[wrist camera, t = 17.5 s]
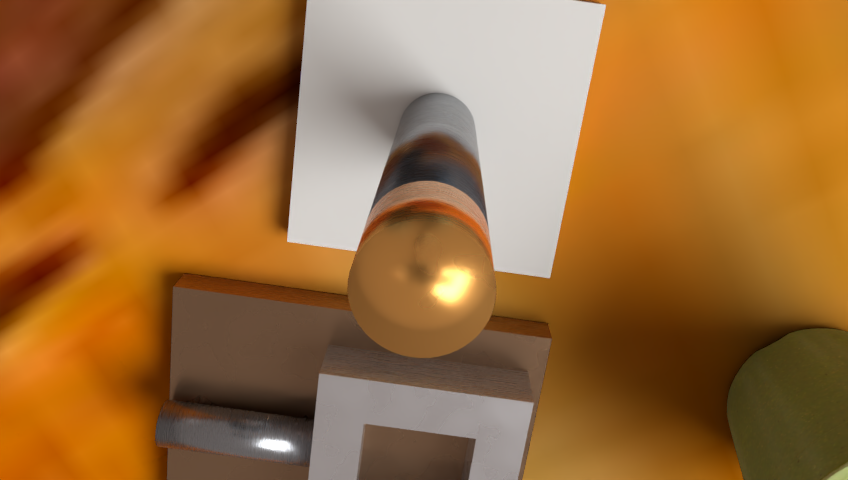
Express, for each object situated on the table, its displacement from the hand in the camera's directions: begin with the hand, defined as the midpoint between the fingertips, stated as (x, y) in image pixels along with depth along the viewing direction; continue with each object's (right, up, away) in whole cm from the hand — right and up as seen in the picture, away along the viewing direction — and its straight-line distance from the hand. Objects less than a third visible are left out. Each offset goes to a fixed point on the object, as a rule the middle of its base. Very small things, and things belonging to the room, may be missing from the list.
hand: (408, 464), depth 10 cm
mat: (+1, +7, +22) cm, 23 cm away
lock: (-3, -5, +27) cm, 27 cm away
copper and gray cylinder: (+1, +7, +21) cm, 22 cm away
